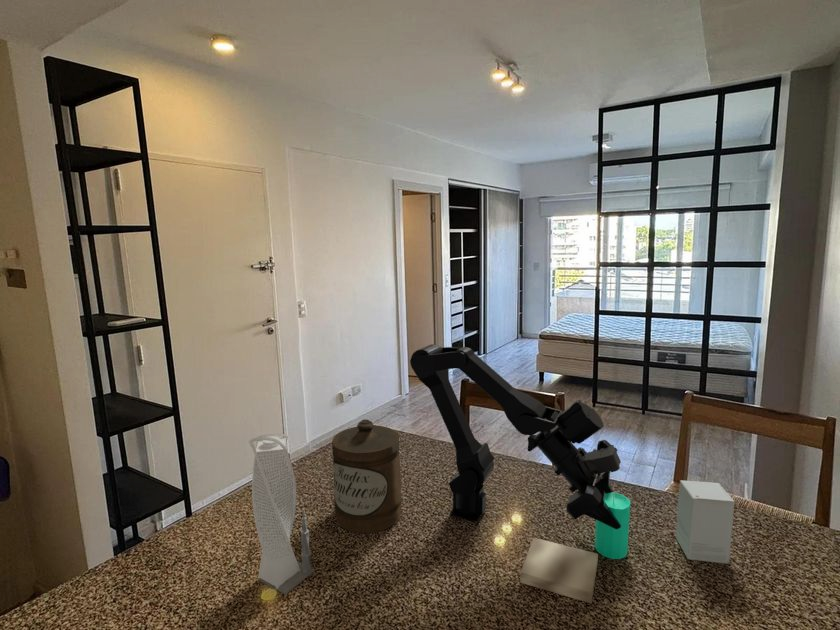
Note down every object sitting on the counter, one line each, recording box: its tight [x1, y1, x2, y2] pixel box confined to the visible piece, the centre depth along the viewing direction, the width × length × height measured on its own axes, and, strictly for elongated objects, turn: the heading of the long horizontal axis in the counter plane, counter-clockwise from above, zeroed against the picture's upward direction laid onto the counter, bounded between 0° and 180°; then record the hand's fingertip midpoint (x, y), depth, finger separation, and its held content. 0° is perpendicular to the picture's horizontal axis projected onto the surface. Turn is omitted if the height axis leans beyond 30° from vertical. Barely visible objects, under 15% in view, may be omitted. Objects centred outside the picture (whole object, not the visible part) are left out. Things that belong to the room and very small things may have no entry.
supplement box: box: [675, 479, 736, 564], centre depth 92 cm, size 7×7×13 cm
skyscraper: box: [248, 433, 315, 595], centre depth 85 cm, size 8×8×28 cm
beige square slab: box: [519, 537, 599, 604], centre depth 87 cm, size 12×11×2 cm
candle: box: [594, 492, 632, 560], centre depth 93 cm, size 6×6×12 cm
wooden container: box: [331, 419, 403, 534], centre depth 105 cm, size 15×15×22 cm
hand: (620, 520), depth 92 cm, fingers closed on candle, 5 cm apart
